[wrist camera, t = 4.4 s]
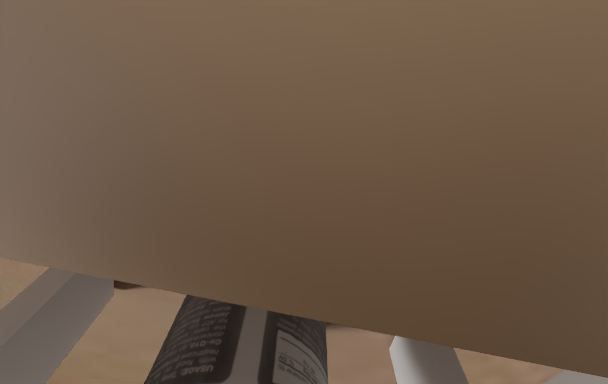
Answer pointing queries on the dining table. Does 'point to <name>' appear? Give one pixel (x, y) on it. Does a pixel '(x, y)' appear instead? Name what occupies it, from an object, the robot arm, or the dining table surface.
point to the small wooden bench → (323, 160)
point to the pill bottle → (240, 347)
